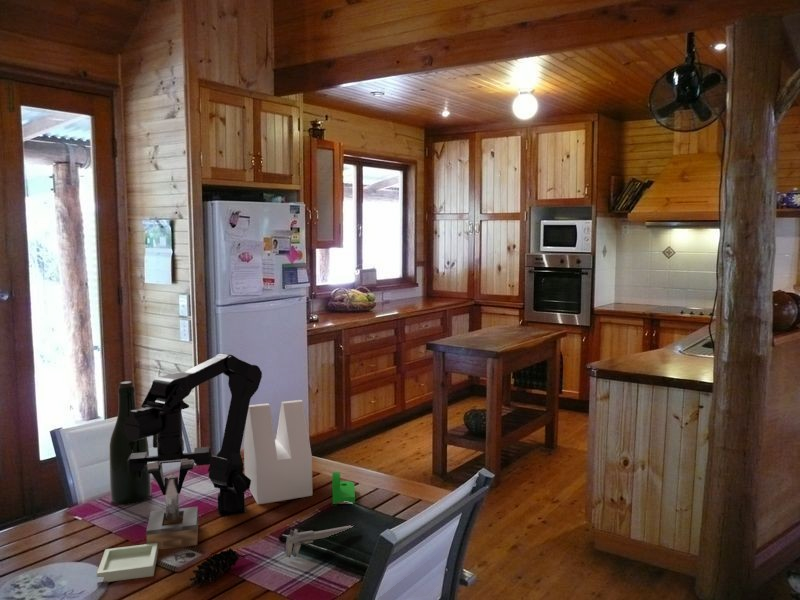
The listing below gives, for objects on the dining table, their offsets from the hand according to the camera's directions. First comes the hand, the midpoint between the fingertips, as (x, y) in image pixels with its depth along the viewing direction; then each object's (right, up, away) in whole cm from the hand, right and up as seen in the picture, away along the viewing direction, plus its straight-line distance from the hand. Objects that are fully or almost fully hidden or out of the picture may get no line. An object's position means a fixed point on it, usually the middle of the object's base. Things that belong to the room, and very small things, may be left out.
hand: (171, 493), depth 155 cm
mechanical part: (+39, -9, +27) cm, 48 cm away
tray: (-5, -12, -13) cm, 19 cm away
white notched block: (+19, -8, +33) cm, 39 cm away
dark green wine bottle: (-20, -9, +25) cm, 34 cm away
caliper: (+37, -12, -3) cm, 39 cm away
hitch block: (0, -11, +1) cm, 11 cm away
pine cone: (+20, -15, -11) cm, 28 cm away
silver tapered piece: (0, -6, +1) cm, 6 cm away
